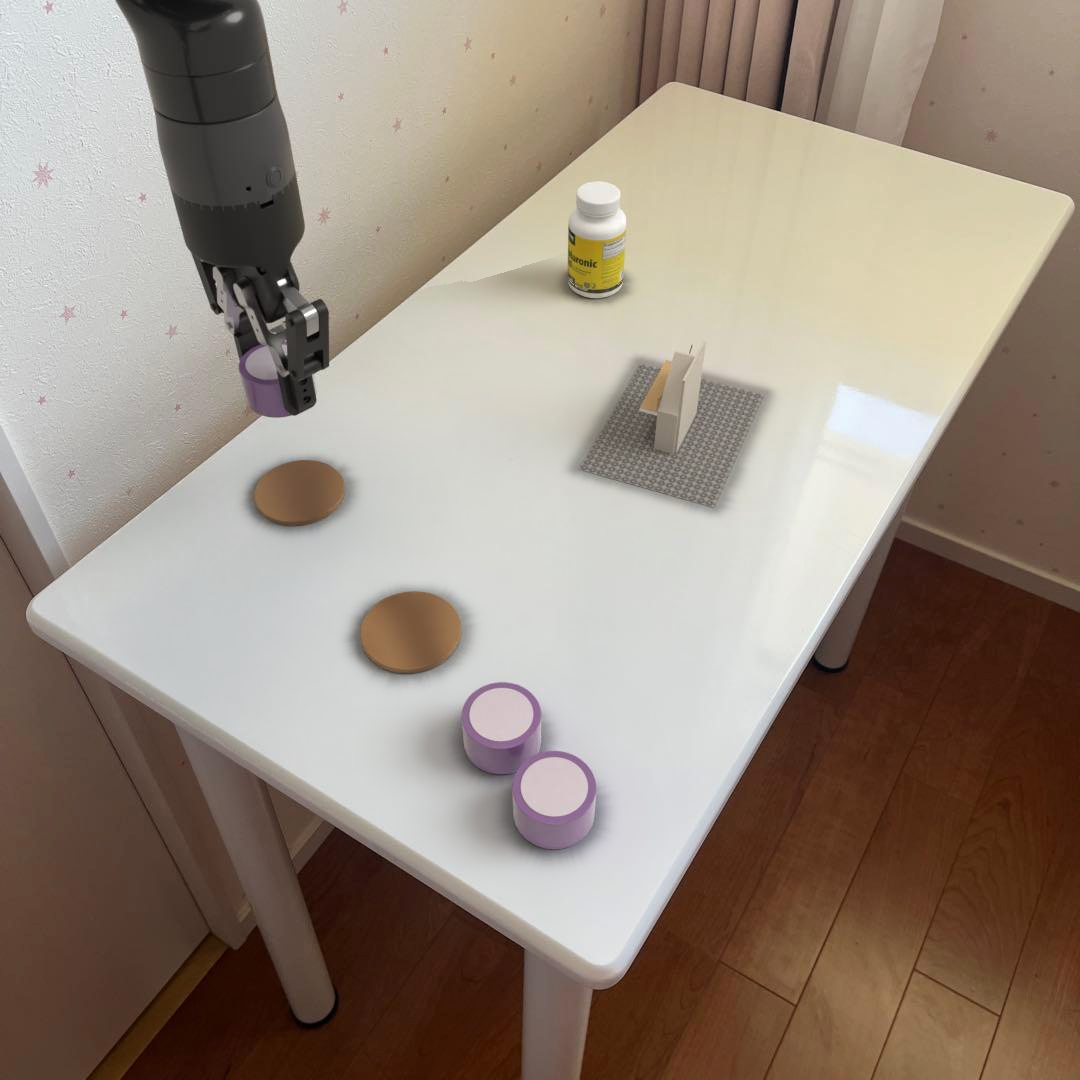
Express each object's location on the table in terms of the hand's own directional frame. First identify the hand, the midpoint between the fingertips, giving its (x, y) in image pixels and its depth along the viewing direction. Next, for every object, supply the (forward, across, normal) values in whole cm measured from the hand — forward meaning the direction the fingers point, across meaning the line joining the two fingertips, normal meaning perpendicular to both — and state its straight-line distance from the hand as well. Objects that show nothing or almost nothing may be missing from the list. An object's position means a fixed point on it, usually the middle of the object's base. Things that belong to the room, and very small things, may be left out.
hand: (279, 389), depth 79 cm
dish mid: (+11, +28, -3) cm, 30 cm away
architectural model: (+11, +14, +27) cm, 33 cm away
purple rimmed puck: (+11, +34, -4) cm, 36 cm away
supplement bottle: (+11, -6, +37) cm, 39 cm away
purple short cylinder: (+1, 0, 0) cm, 1 cm away
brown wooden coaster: (+11, +17, -2) cm, 20 cm away
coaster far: (+11, 0, 0) cm, 11 cm away
